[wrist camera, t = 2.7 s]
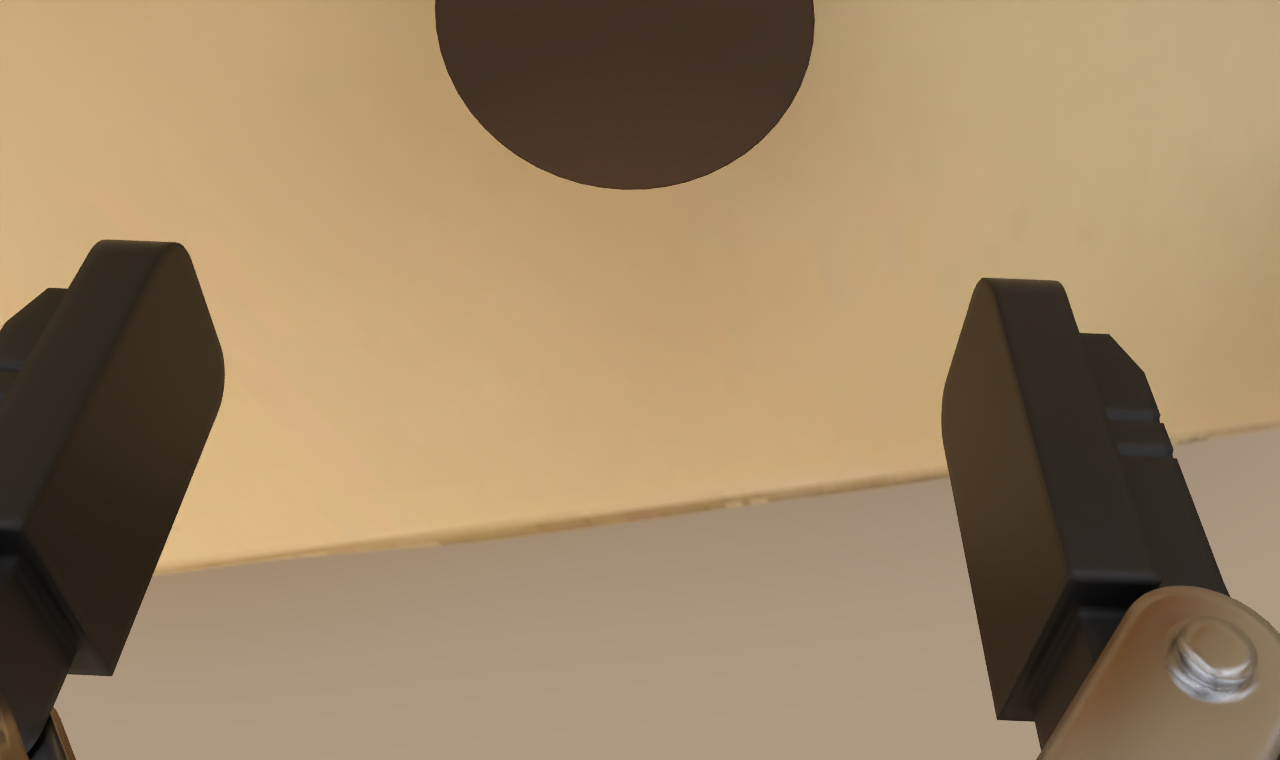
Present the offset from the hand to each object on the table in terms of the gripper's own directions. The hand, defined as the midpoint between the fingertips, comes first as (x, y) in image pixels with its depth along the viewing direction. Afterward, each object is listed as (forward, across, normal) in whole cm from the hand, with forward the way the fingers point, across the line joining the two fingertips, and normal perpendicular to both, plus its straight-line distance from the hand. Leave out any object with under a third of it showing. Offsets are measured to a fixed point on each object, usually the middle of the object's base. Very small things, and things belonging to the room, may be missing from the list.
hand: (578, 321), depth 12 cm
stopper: (+12, 0, 0) cm, 12 cm away
